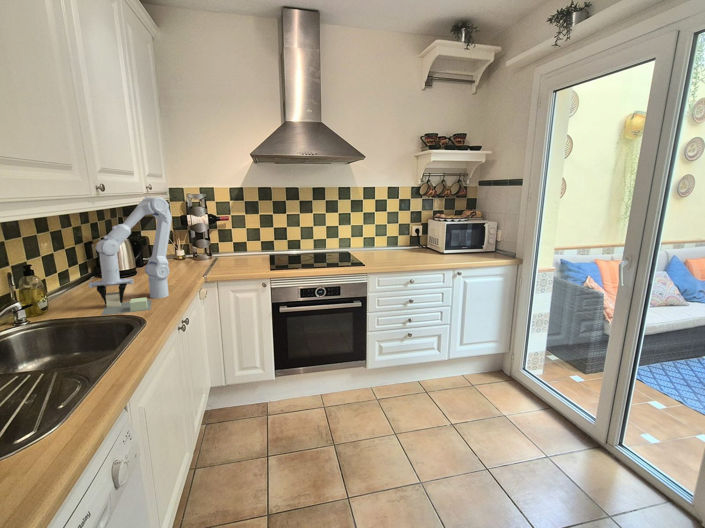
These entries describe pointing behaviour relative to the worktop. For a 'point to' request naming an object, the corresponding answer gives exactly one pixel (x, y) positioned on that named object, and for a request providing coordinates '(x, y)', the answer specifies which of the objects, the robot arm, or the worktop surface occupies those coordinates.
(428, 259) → the worktop surface
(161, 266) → the robot arm
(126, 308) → the build plate
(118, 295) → the cream block
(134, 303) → the base block
